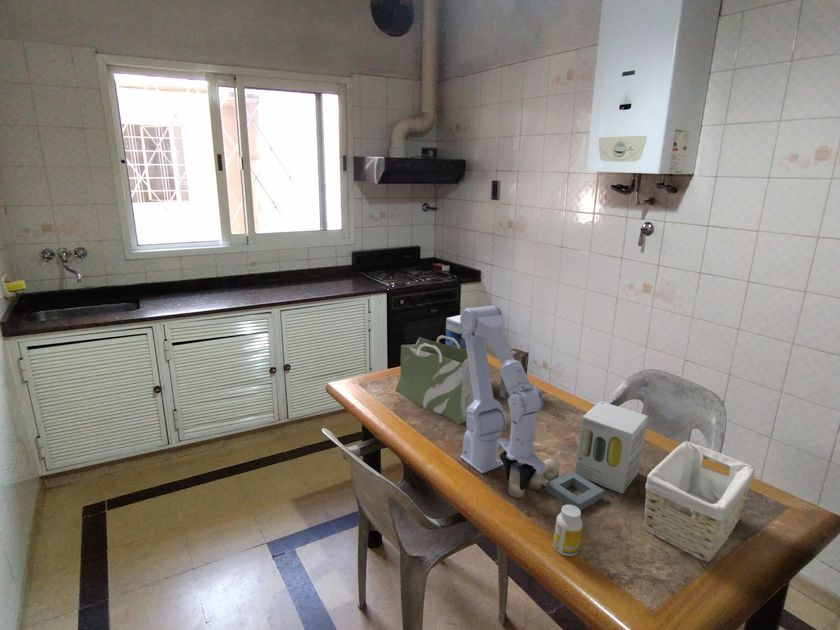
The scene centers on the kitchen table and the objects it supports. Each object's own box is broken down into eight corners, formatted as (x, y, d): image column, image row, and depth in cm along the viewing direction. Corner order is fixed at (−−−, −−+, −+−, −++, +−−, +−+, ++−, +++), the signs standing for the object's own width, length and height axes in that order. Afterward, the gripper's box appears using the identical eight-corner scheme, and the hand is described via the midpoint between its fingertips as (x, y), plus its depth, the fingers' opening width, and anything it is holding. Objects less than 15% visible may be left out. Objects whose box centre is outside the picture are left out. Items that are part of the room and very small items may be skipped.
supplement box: (572, 474, 134) (580, 416, 129) (591, 454, 144) (599, 399, 139) (622, 495, 126) (633, 433, 121) (638, 472, 135) (649, 415, 131)
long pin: (504, 491, 126) (507, 465, 123) (515, 485, 128) (518, 460, 126) (516, 499, 122) (519, 473, 120) (527, 494, 125) (530, 468, 123)
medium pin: (522, 482, 129) (524, 464, 128) (533, 477, 132) (535, 459, 130) (534, 490, 126) (536, 472, 125) (544, 485, 128) (547, 467, 127)
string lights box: (467, 374, 198) (471, 312, 190) (480, 380, 192) (485, 316, 185) (442, 381, 189) (445, 317, 182) (456, 388, 184) (460, 322, 177)
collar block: (545, 490, 126) (546, 483, 126) (570, 477, 132) (571, 470, 131) (577, 512, 119) (578, 504, 118) (603, 497, 124) (604, 490, 124)
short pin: (539, 475, 133) (541, 462, 132) (549, 470, 135) (551, 457, 134) (551, 482, 130) (552, 469, 129) (561, 477, 132) (562, 464, 131)
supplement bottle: (548, 547, 107) (553, 510, 104) (560, 535, 111) (565, 498, 108) (571, 561, 104) (577, 522, 101) (582, 547, 107) (588, 510, 105)
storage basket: (710, 571, 102) (724, 510, 98) (633, 529, 114) (643, 473, 110) (745, 520, 118) (759, 466, 114) (674, 488, 129) (685, 438, 125)
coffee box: (509, 388, 186) (513, 348, 181) (525, 393, 182) (529, 352, 178) (498, 396, 179) (502, 354, 174) (514, 401, 175) (518, 359, 171)
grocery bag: (392, 392, 179) (393, 331, 173) (419, 382, 189) (421, 324, 182) (458, 425, 158) (463, 357, 151) (485, 412, 167) (490, 347, 161)
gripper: (489, 427, 124) (485, 474, 128) (533, 454, 113) (527, 504, 117) (509, 420, 128) (505, 465, 132) (553, 445, 117) (547, 494, 121)
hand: (517, 483), depth 124 cm, fingers closed on long pin, 4 cm apart
